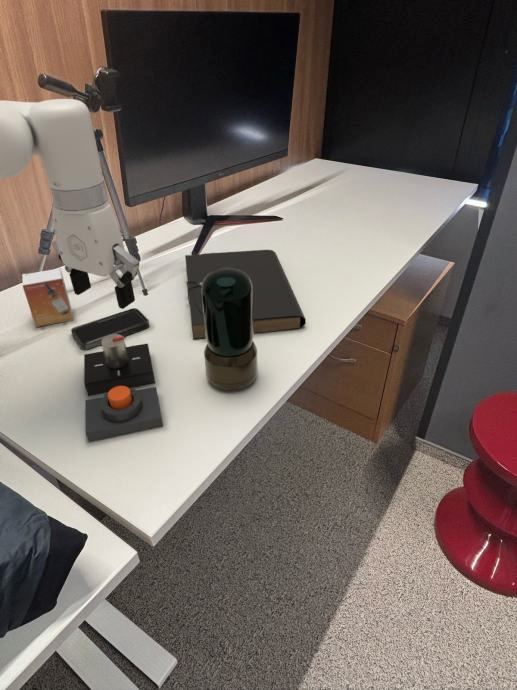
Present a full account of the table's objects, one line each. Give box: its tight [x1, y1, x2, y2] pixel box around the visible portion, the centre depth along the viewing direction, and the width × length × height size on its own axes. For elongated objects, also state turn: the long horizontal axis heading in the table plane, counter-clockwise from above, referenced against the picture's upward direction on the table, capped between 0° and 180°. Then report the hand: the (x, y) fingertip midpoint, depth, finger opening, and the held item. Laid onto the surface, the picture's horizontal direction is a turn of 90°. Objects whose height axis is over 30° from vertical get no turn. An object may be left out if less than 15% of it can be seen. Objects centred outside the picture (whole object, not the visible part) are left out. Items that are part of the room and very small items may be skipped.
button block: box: [84, 386, 164, 443], centre depth 80 cm, size 12×8×4 cm, turn 106°
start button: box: [108, 386, 132, 409], centre depth 79 cm, size 4×4×2 cm
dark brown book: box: [184, 249, 307, 340], centre depth 113 cm, size 33×4×24 cm
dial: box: [101, 334, 129, 369], centre depth 88 cm, size 4×4×5 cm
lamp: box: [201, 267, 258, 391], centre depth 84 cm, size 10×10×22 cm
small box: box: [21, 267, 74, 328], centre depth 104 cm, size 8×6×10 cm
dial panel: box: [83, 343, 156, 397], centre depth 90 cm, size 12×9×3 cm
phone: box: [70, 307, 150, 351], centre depth 103 cm, size 8×1×15 cm
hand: (104, 297), depth 80 cm, fingers open, 9 cm apart
